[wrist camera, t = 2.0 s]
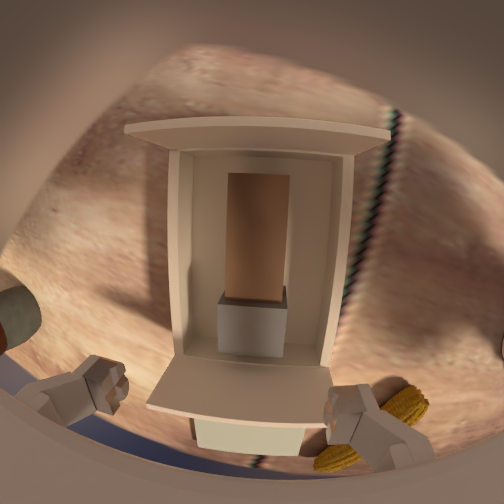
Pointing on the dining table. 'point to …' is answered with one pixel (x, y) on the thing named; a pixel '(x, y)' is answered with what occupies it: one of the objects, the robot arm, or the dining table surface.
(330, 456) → the food
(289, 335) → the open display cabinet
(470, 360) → the dining table surface
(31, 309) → the bottle
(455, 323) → the dining table surface
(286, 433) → the board
